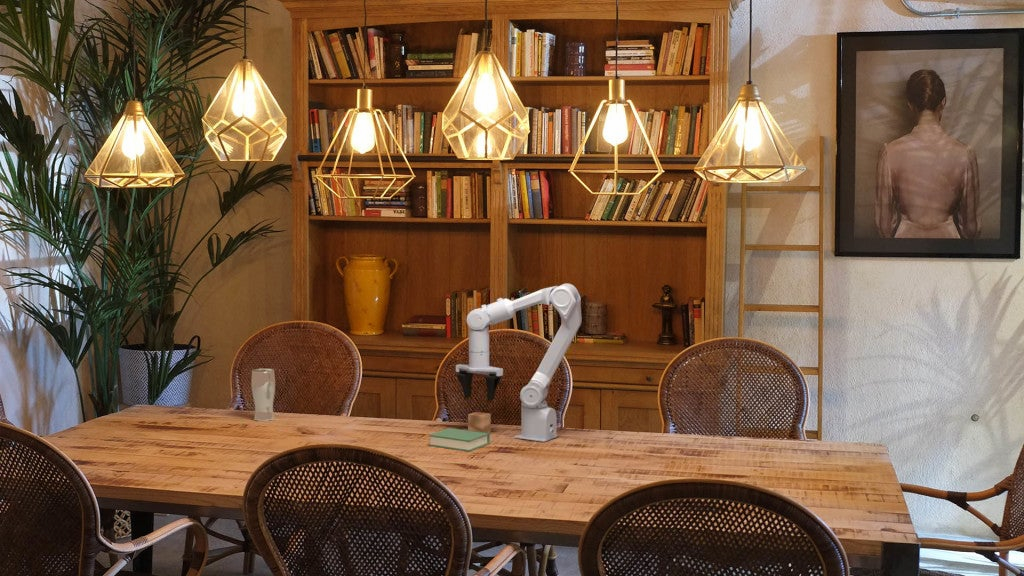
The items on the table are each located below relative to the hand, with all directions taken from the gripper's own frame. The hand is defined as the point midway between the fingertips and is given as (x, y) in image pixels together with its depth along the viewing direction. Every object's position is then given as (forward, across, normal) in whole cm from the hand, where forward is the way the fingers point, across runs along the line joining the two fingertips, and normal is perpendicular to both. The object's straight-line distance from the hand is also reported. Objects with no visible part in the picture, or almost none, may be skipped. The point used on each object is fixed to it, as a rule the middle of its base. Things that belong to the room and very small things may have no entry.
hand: (479, 399), depth 295 cm
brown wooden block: (+10, 0, 0) cm, 10 cm away
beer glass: (+10, -67, -16) cm, 70 cm away
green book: (+10, +2, -13) cm, 17 cm away
